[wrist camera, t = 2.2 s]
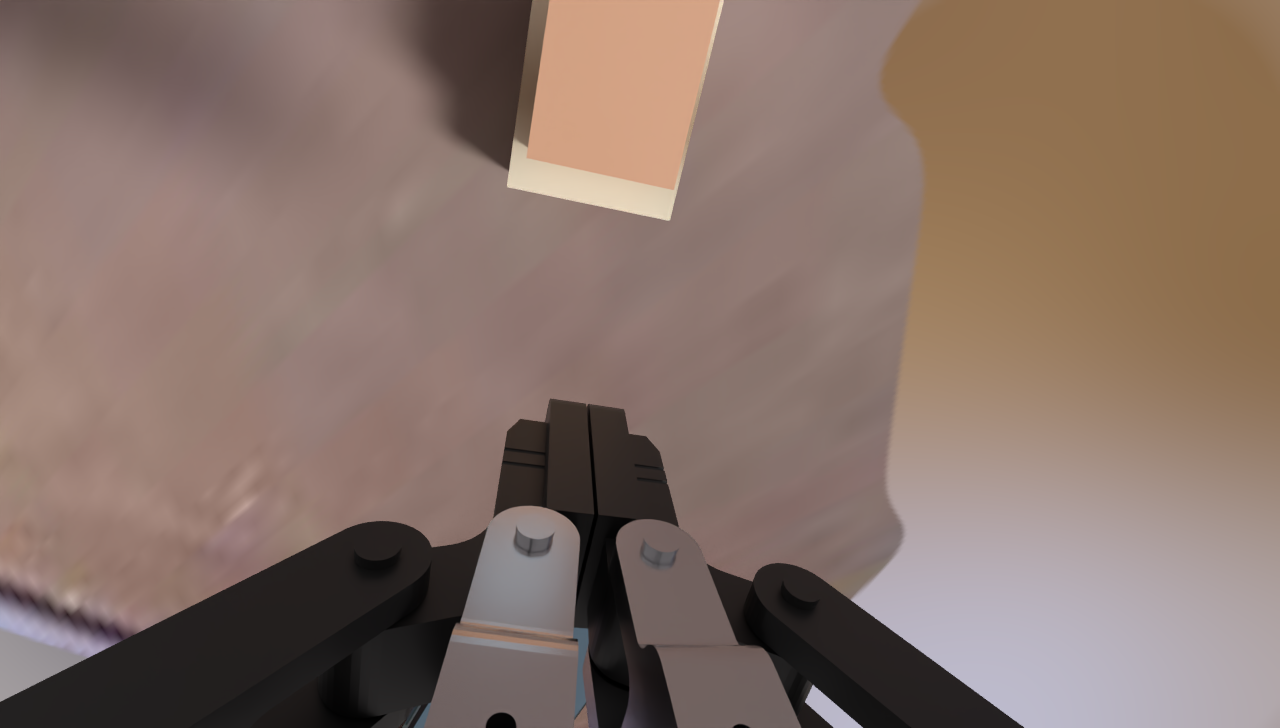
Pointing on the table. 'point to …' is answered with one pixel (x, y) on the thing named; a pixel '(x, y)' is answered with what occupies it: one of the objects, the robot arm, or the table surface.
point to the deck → (576, 181)
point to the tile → (620, 85)
